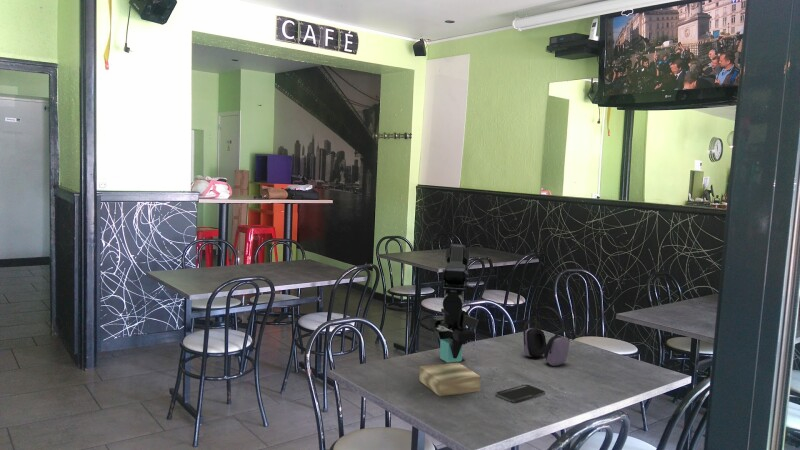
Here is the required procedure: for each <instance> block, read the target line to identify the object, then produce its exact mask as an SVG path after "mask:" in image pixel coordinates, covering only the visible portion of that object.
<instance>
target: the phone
mask: <svg viewBox="0 0 800 450" xmlns="http://www.w3.org/2000/svg"><path fill="white" fill-rule="evenodd" d="M545 395H546V390H543V389H540V388H538V387H536V386H532V385H530V384H523V385H519V386H515V387H511V388H508V389H503V390H500V391H496V392H495V397H497V398H500V399H502V400H503V399H504V401H506V402H508V403H510V402H511V403H510V404H519V403H521V402H526V401H528V400H532V399H534V398H535V399H536V398H538V397H542V396H545Z"/></svg>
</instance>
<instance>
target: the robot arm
mask: <svg viewBox="0 0 800 450" xmlns="http://www.w3.org/2000/svg"><path fill="white" fill-rule="evenodd" d="M470 255H471V251H470V249H468V248H467V247H466V245H464V244H458V243H452V244H450V247H447V248H446V249H445V259H444V260H445V261H444V262H445V266H444V269H442V274H441V275H442V276H441V286H440V288H441V289H440V290H443V291H444V297H443V299H442V300H443V301H442V308H441V309H440V312H441V313H442V314H443V315H442V316H440V317H431V319H429V327H430V328H432V329H434V332H435V333H436V335H437V339H438V341H439V342H440V341H441V339H448V338H449V341H450V346H451V351H452V355H453V358H454V359H455V358H457V357H458V354H459V352H460V349H461V347H462V348H463V346H464V345H467V344H468V341H476V339H477V333H476V332H475V330H476V329H477V326H478V324H479V321H480V320H479V319H477V318H475V317H472V316H470V315H469V311H466V310H464V309H463V307H464V306H463V305H464V304H463V301H464V292H467V289H469V288H470V287H469V286H470V285H469V283H470V274H469V271H468V270H467V269H468V265H470V257H471V256H470ZM463 361H465V358H463V357H462V361H461V362H463Z"/></svg>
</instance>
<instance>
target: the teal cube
mask: <svg viewBox="0 0 800 450" xmlns="http://www.w3.org/2000/svg"><path fill="white" fill-rule="evenodd" d="M439 342H440V345H439V359H441V360H443V361H444V362H446V364H449V363H460V362H463V361H462V358H463V346H462V347H461V349H460V352H459V354H458V357H457V358H455V359H454V358H453V355H452V351H451V346H450V341H449V338H448V339H441V341H440V340H439Z"/></svg>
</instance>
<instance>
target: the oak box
mask: <svg viewBox="0 0 800 450" xmlns="http://www.w3.org/2000/svg"><path fill="white" fill-rule="evenodd" d="M481 379H482V376H481V375H479V374H477V373H476V372H474V371H473V370H471V369H469V368H468V367H467V366H465V365H463V364H462V363H460V362H450V363H440V364H430V365H420V366H419V379H418V380H419V382H421V383H422V384H423V385H425V387H427V388H428V389H430V391H432V392H433V393H435V394H436V395H437V396H439V397H445V396H452V395H459V394H460V395H461V394H468V393H476V391H477V392H481Z"/></svg>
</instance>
